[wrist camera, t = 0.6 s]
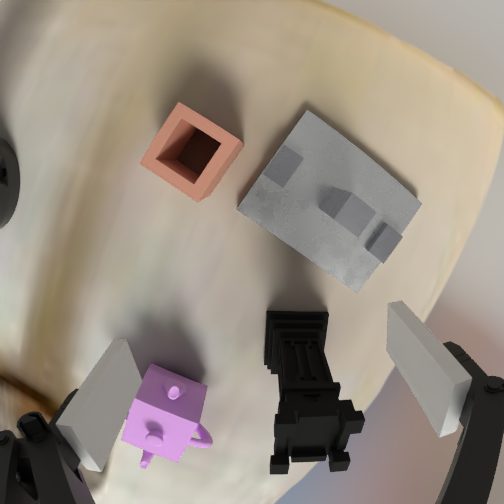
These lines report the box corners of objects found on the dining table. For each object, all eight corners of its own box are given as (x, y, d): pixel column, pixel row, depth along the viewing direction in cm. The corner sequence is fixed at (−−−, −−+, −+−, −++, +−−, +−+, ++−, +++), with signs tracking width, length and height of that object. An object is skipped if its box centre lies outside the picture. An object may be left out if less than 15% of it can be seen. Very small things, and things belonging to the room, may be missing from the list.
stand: (237, 207, 38) (230, 221, 29) (305, 111, 35) (319, 95, 26) (353, 288, 40) (377, 321, 31) (416, 202, 37) (456, 213, 28)
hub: (162, 163, 37) (139, 163, 29) (195, 114, 35) (178, 101, 28) (210, 194, 38) (197, 202, 30) (244, 145, 36) (239, 140, 28)
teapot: (114, 359, 44) (85, 403, 34) (191, 344, 43) (174, 393, 33) (156, 428, 48) (140, 474, 38) (228, 419, 47) (222, 470, 36)
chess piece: (320, 362, 43) (349, 472, 24) (264, 361, 44) (265, 476, 24) (327, 311, 41) (370, 416, 22) (266, 310, 41) (270, 420, 22)
